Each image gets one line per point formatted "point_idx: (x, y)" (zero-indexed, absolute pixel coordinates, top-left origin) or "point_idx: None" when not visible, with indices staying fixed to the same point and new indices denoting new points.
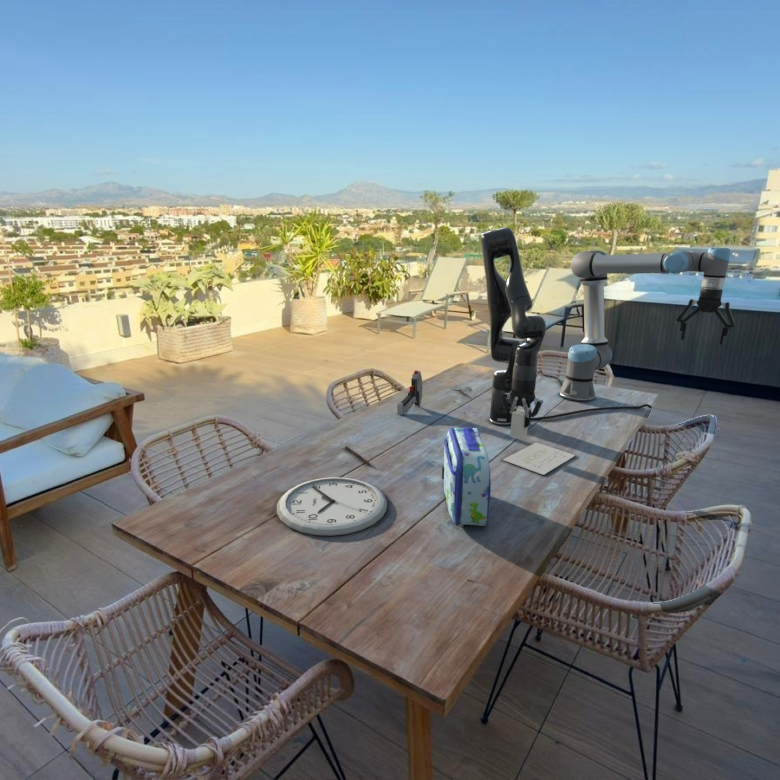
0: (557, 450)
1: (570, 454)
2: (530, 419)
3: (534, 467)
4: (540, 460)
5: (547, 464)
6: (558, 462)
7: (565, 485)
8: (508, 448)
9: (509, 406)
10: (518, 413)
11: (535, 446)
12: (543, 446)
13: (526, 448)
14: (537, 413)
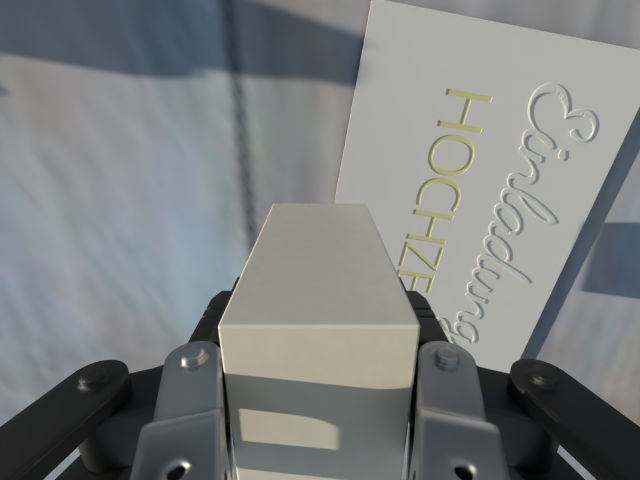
0: (540, 53)
1: (629, 65)
2: (443, 337)
3: (459, 344)
4: (468, 260)
5: (510, 283)
6: (561, 229)
7: (599, 395)
8: (262, 202)
9: (87, 419)
10: (317, 472)
11: (392, 82)
12: (440, 44)
13: (354, 154)
14: (583, 387)
